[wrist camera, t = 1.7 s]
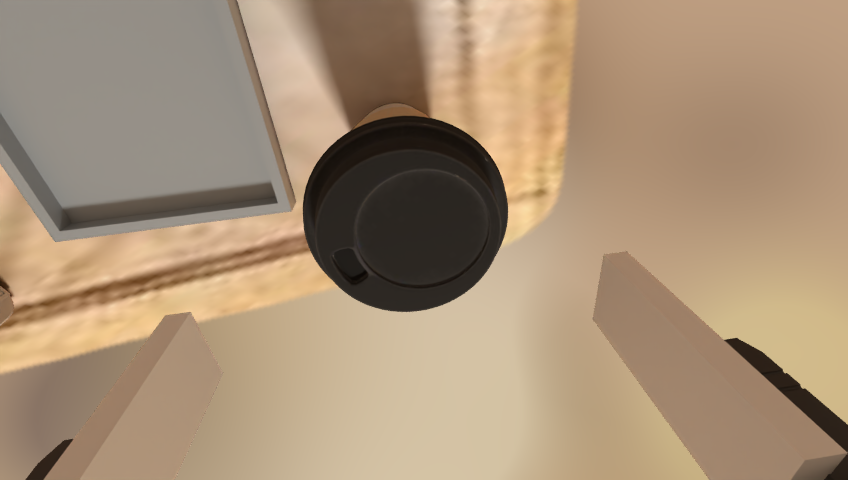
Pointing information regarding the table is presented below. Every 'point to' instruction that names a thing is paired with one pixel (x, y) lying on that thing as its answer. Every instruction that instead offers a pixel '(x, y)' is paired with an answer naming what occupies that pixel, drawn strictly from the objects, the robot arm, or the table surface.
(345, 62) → the table surface
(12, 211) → the table surface
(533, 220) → the table surface
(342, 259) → the coffee cup
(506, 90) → the table surface
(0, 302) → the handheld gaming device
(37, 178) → the grey tray
